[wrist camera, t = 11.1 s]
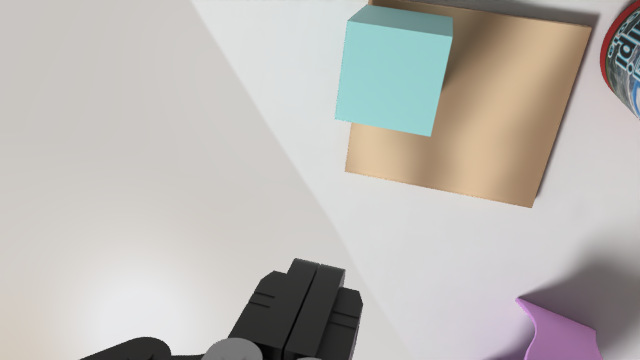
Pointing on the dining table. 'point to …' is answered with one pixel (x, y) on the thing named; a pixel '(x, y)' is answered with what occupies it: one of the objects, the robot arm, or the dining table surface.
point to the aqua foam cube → (393, 68)
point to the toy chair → (559, 336)
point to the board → (483, 108)
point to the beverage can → (623, 58)
